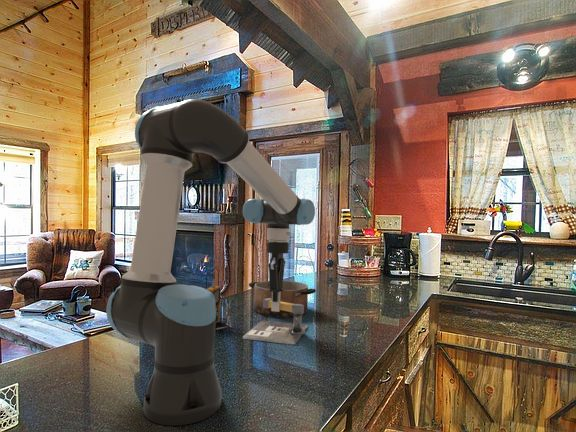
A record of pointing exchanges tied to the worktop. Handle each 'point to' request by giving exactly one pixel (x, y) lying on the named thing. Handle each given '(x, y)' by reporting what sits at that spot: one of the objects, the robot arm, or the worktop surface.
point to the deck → (288, 338)
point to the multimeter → (216, 298)
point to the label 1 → (259, 333)
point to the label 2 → (277, 329)
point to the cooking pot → (281, 296)
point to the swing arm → (285, 306)
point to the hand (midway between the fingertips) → (275, 310)
